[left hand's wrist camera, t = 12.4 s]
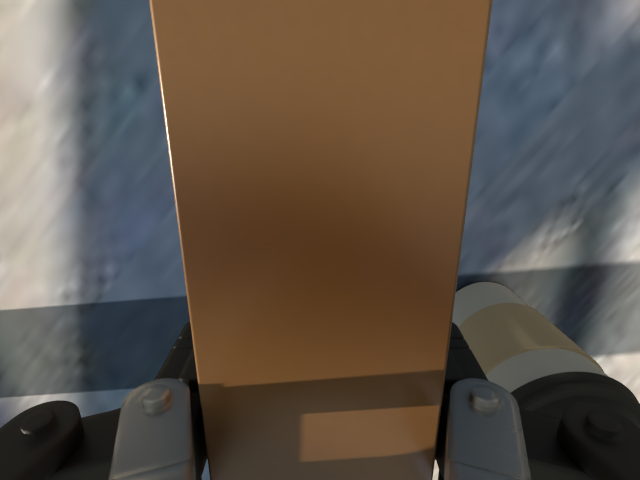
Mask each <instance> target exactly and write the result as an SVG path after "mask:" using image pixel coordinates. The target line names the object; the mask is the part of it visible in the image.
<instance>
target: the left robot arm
mask: <svg viewBox="0 0 640 480" xmlns="http://www.w3.org/2000/svg"><path fill="white" fill-rule="evenodd" d="M207 459H208V457H207V449H206V442H205V434H204V426H203V418H202V410H201V402H200V394H199V387H198V379H197V371H196V363H195V355H194V347H193V339H192V331H191V324H190V322H189V323H187V324H186V325H185V326H184V328H183V330H182V332H181V334H180V335H179V339H177V341H176V342H175V344H174V346H173V349H172V350H171V351H170V353H169V355H168V357H167V359H166V360H165V362H164V364H163V366H162V367H161V369H160V371H159V373H158V375H157V376H156V378H155V380H153V381H150V382H147V383H145V384H143V385H141V386H139V387H137V388H136V389H134V390H133V391H132V392H131V393H130V394H128V396H127V397H126V398H125V399H124V401H123V403H122V406H121V408H119V409H116V410H112V411H109V412H104V413H100V414H96V415H91V416H87V417H83V418H81V415H80V412H79V409H78V407H77V406H76V405H75V404H74V403H71V402H69V401H51V402H46V403H43V404H39V405H37V406H34V407H32V408H29V409H27V410H25V411H24V412H22V413H20V414H19V415H17V416H16V417H14V418H13V419H12V420H10V421H9V422H8V423H6V424H5V425H4V426H3V427H1V428H0V480H202V473H203V470H204V466H205V463H206V460H207ZM435 460H436V461H437V464H438V467H439V475H438V480H640V428H639V427H637V426H636V425H635V424H634V423H632V422H631V421H630V420H628V419H627V418H626V417H624V416H623V415H621V414H619V413H618V412H616V411H614V410H612V409H609V408H607V407H604V406H601V405H598V404H594V403H589V402H574V403H571V404H568V405H567V406H565V408H564V409H563V411H562V415H561V418H558V417H553V416H549V415H545V414H540V413H536V412H532V411H528V410H525V409H522V408H520V407H519V406H518V403H517V401H516V399H515V398H514V397H513V395H512V394H510V393H509V392H508V391H507V390H506V389H504V388H503V387H501V386H499V385H497V384H495V383H493V382H490V381H488V379H487V377H486V375H485V373H484V372H483V370H482V368H481V366H480V365H479V363H478V361H477V359H476V358H475V356H474V354H473V352H472V351H471V349H469V345H468V344H467V342H466V340H465V339H464V337H463V335H462V333H461V331H460V330H459V328H458V326H457V325H456V324H455V323H453V322H452V326H451V334H450V342H449V350H448V358H447V366H446V374H445V382H444V390H443V398H442V406H441V414H440V422H439V430H438V438H437V446H436V454H435Z"/></svg>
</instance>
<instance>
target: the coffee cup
mask: <svg viewBox="0 0 640 480" xmlns="http://www.w3.org/2000/svg"><path fill="white" fill-rule="evenodd" d="M452 322H453V323H455V324H456V325H457V326H458V328H459V330H460V331H461V333H462V335H463V337H464V339H465V340H466V342H467V344H468V345H469V349H471V351H472V352H473V354H474V356H475V358H476V359H477V361H478V363H479V365H480V366H481V368H482V370H483V372H484V373H485V375H486V377H487V379H488V381H490V382H493V383H495V384H497V385H499V386H501V387H503V388H504V389H506V390H507V391H508V392H509V393H510V394H512V395H513V397H514V398H515V399H516V401H517V403H518V406H519V407H520V408H522V409H525V410H528V411H532V412H536V413H540V414H545V415H549V416H553V417H558V418H561V415H562V411H563V409H564V408H565V406H567V405H568V404H571V403H574V402H589V403H594V404H598V405H601V406H604V407H607V408H609V409H612V410H614V411H616V412H618V413H619V414H621V415H623V416H624V417H626V418H627V419H628V420H630V421H631V422H632V423H634V424H635V425H636V426H637V427H639V428H640V404H639V402H638V400H637V399H636V397H635V396H634V394H633V393H632V392H631V391H630V390H629V389H628V388H627V387H626V386H624V385H623V384H622V383H620V382H618V381H617V380H615V379H613V378H610V377H608V376H607V375H606V374H605V373H604V371H603V370H602V368H601V367H600V365H599V364H598V363H597V362H596V361H595V360H594V359H593V358H591V357H590V356H589V355H588V354H587V353H586V352H584V351H583V350H582V349H581V348H580V347H579V346H577V345H576V344H575V343H574V342H573V341H572V340H570V339H569V338H568V337H567V336H566V335H565V334H563V333H562V332H561V331H560V330H559V329H558V328H557V327H555V326H554V325H553V324H552V323H551V322H550V321H548V320H547V319H546V318H545V317H544V316H543V315H541V314H540V313H539V312H538V311H536V310H535V309H533V308H531V307H529V306H528V305H527V304H525V303H524V302H523V301H522V300H521V299H520V298H519V297H517V296H516V295H515V294H514V293H513V292H512V291H511V290H509V289H508V288H507V287H505V286H503V285H501V284H498V283H493V282H479V283H474V284H471V285H468V286H466V287H464V288H462V289H460V290H459V291H457V292H456V295H455V303H454V311H453V318H452Z"/></svg>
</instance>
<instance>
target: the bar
mask: <svg viewBox="0 0 640 480" xmlns="http://www.w3.org/2000/svg"><path fill="white" fill-rule="evenodd" d="M149 1H150V9H151V17H152V25H153V33H154V41H155V48H156V56H157V64H158V72H159V80H160V88H161V96H162V103H163V111H164V119H165V127H166V135H167V143H168V151H169V159H170V166H171V174H172V182H173V190H174V198H175V206H176V214H177V221H178V229H179V237H180V245H181V253H182V261H183V269H184V276H185V284H186V292H187V300H188V308H189V316H190V324H191V331H192V339H193V347H194V355H195V363H196V371H197V379H198V387H199V394H200V402H201V410H202V418H203V426H204V434H205V442H206V449H207V457H208V465H209V473H210V480H432V477H433V469H434V462H435V454H436V446H437V438H438V430H439V422H440V414H441V406H442V398H443V390H444V382H445V374H446V366H447V358H448V350H449V342H450V334H451V326H452V318H453V311H454V303H455V295H456V287H457V279H458V271H459V263H460V255H461V247H462V239H463V231H464V223H465V215H466V207H467V199H468V191H469V183H470V175H471V167H472V160H473V152H474V144H475V136H476V128H477V120H478V112H479V104H480V96H481V88H482V80H483V72H484V64H485V56H486V48H487V40H488V32H489V24H490V16H491V9H492V1H493V0H149Z"/></svg>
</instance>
